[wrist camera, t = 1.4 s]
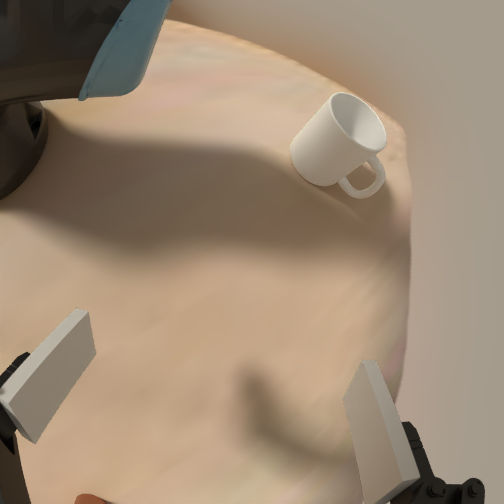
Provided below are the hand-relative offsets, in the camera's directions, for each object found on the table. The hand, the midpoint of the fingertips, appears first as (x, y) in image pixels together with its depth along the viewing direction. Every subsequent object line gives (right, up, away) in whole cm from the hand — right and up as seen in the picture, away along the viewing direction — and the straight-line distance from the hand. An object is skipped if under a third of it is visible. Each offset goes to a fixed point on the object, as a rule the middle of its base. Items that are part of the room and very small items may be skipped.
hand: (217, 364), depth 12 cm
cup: (+11, +16, +25) cm, 31 cm away
